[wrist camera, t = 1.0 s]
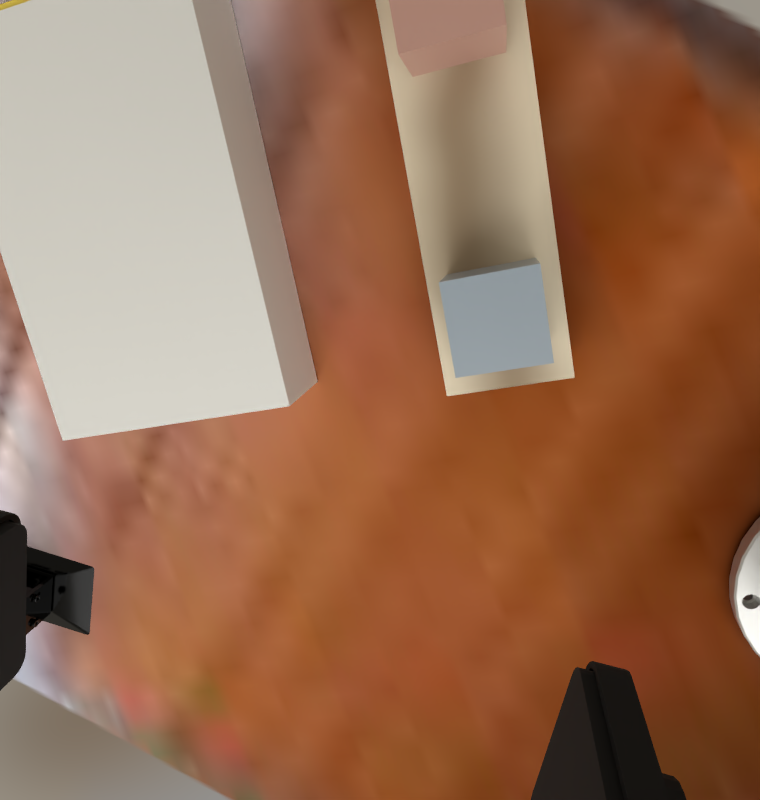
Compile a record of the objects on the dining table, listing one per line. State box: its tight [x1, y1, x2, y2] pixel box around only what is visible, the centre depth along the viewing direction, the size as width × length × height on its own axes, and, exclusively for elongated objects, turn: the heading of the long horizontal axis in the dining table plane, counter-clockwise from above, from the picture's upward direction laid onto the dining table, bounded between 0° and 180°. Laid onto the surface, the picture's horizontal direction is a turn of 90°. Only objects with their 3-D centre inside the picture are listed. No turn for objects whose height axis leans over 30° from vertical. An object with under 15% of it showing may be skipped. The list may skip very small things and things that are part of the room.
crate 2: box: [439, 258, 554, 378], centre depth 28 cm, size 4×4×4 cm
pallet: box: [376, 0, 575, 396], centre depth 30 cm, size 6×20×4 cm, turn 12°
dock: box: [0, 0, 318, 441], centre depth 33 cm, size 13×20×5 cm, turn 12°
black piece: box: [26, 547, 94, 635], centre depth 42 cm, size 12×7×5 cm, turn 78°
